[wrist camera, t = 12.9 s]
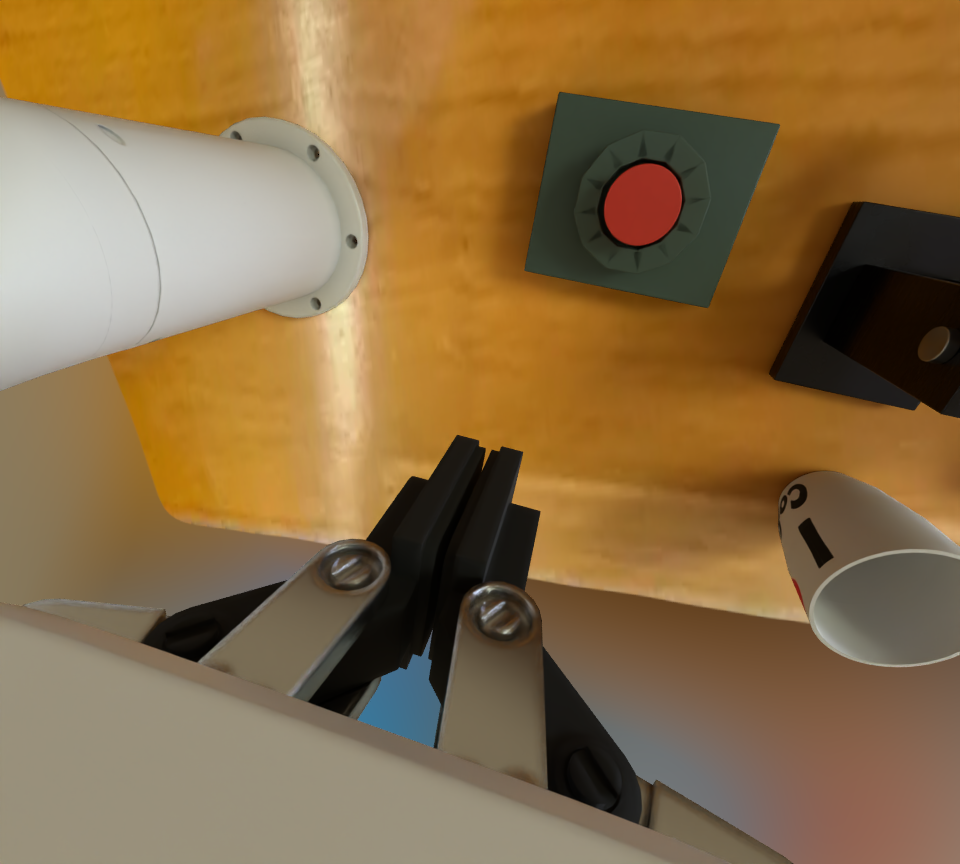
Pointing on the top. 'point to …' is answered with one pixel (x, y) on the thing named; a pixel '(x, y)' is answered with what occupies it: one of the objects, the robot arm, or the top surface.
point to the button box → (620, 146)
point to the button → (642, 204)
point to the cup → (870, 572)
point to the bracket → (883, 312)
